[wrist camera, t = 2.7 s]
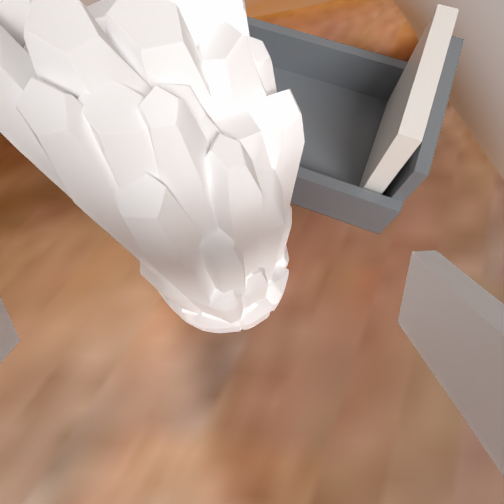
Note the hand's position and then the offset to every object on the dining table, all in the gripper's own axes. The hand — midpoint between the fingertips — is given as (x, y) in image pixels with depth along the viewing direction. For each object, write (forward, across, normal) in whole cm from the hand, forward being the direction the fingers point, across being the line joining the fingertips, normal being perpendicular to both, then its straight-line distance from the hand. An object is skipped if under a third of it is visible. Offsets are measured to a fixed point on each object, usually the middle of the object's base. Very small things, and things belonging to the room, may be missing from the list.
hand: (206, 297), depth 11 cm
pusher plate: (+24, +15, 0) cm, 29 cm away
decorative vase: (+17, -1, -9) cm, 19 cm away
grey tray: (+28, +6, +2) cm, 29 cm away
